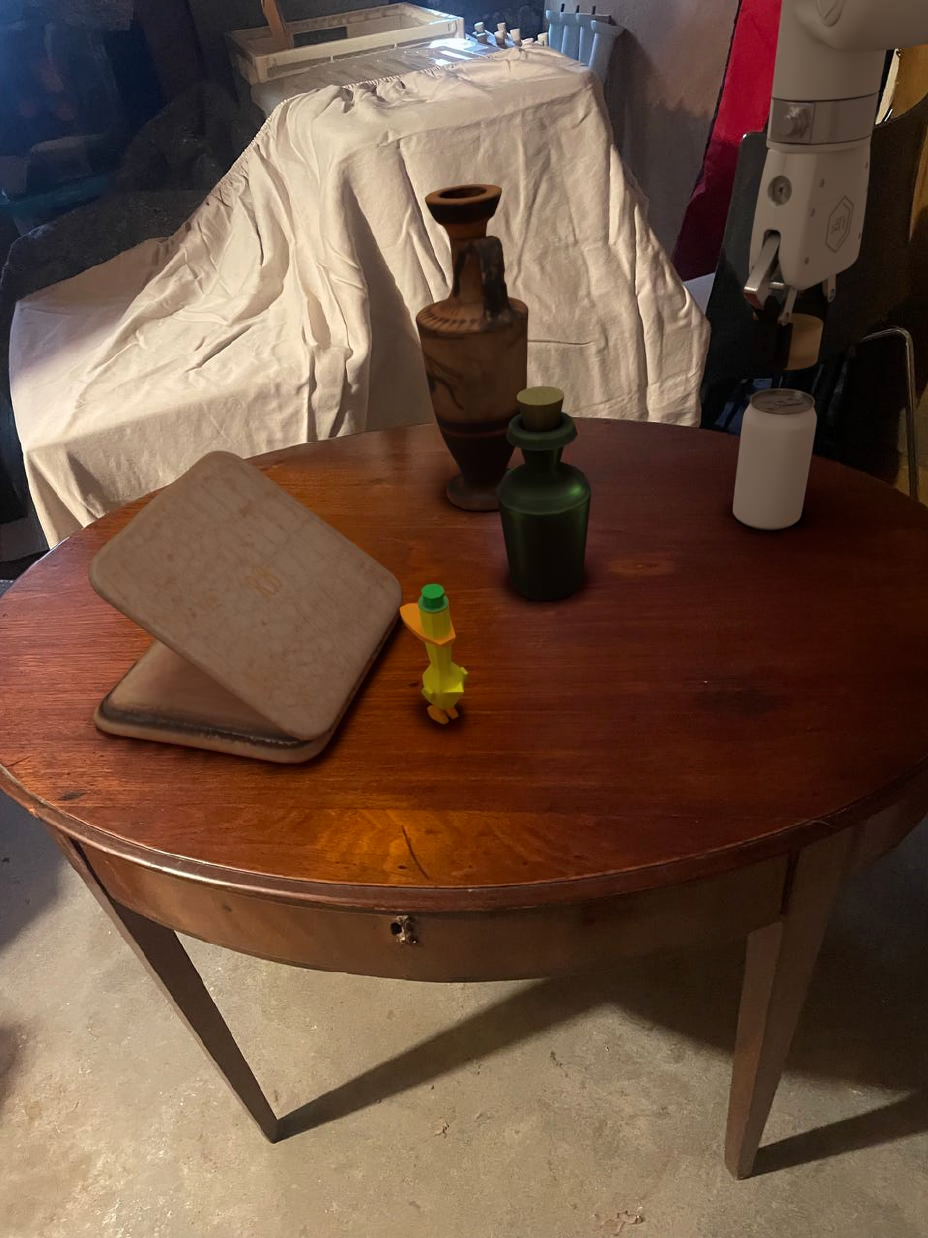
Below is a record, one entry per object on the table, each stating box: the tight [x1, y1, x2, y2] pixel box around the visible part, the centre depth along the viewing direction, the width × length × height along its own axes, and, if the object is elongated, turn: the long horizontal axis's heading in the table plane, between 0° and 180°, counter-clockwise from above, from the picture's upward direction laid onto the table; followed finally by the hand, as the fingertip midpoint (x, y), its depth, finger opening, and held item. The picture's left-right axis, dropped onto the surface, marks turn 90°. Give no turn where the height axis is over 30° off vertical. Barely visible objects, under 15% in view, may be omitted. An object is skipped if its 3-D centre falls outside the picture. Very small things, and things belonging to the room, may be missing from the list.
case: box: [87, 450, 403, 764], centre depth 69 cm, size 20×21×16 cm
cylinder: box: [783, 312, 823, 371], centre depth 76 cm, size 5×5×3 cm
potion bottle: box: [497, 385, 592, 601], centre depth 75 cm, size 8×8×18 cm
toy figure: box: [399, 583, 469, 725], centre depth 64 cm, size 7×4×12 cm, turn 37°
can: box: [732, 387, 818, 531], centre depth 83 cm, size 6×6×12 cm
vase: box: [414, 183, 530, 512], centre depth 86 cm, size 11×11×30 cm
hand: (787, 353), depth 77 cm, fingers closed on cylinder, 5 cm apart
